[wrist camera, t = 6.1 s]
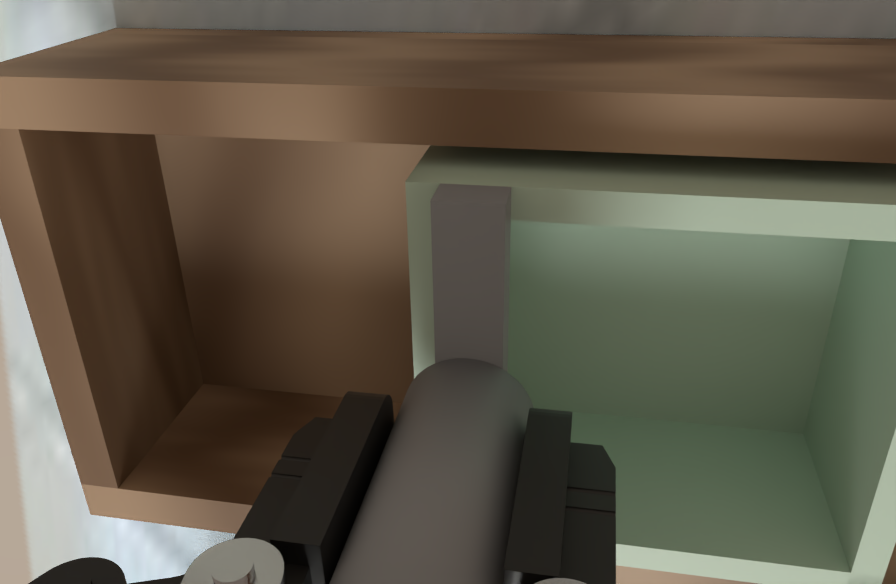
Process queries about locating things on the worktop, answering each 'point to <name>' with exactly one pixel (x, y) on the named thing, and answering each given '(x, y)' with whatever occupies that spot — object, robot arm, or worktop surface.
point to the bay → (324, 213)
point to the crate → (647, 362)
